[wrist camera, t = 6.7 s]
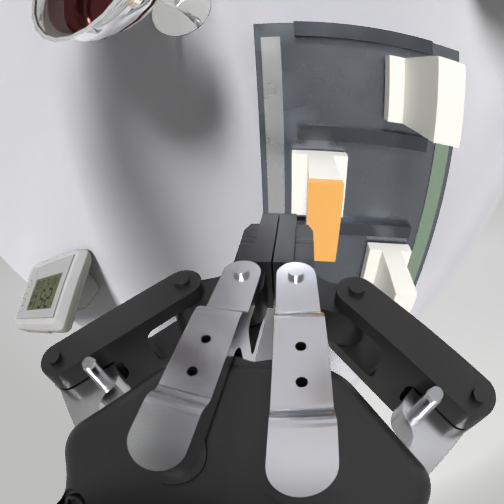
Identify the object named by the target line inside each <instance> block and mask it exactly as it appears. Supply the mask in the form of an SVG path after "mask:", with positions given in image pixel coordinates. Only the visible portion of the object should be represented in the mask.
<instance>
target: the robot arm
mask: <svg viewBox="0 0 504 504" xmlns="http://www.w3.org/2000/svg"><path fill="white" fill-rule="evenodd" d="M274 299H275V314H274V336H273V359H272V360H266V361H259V362H255V358H256V354H257V350H258V347H259V343H260V339H261V336H262V332H263V328H264V324H265V315H266V310H267V308H273V306H274ZM174 316H176V319H177V321H175V322H174V323H172V324H171V325H169V326H168V327H166V328H165V329H163V330H161V331H160V332H158V333H157V334H155V335H153V336H152V337H150V338H148V335H149V333H150V332H151V331H152V330H153V329H155V328H156V327H158V326H159V325H161V324H163V323H164V322H166V321H167V320H169V319H171V318H172V317H174ZM328 344H329V346H330V348H331V349H332V350H333V351H334V352H335V353H336V354H337V355H338V356H339V357H340V358H341V359H342V360H343V361H344V362H345V363H346V364H347V365H348V366H349V367H350V368H351V369H352V370H353V371H354V372H355V374H356V375H357V376H358V377H359V378H360V379H361V380H362V381H363V382H364V383H365V384H366V385H367V386H368V387H369V388H370V389H371V390H372V391H373V392H374V393H375V394H376V395H377V396H378V397H379V398H380V399H381V400H382V401H383V402H384V403H385V404H386V405H387V406H388V407H389V408H390V409H391V410H392V411H393V414H392V417H391V425H392V428H393V430H394V432H395V433H396V434H395V433H394V432H393V431H392V430H391V429H390V428H389V427H388V425H387V424H386V423H385V422H384V421H383V420H382V419H381V417H380V416H379V415H378V414H377V413H376V412H375V411H374V410H373V408H372V407H371V406H370V405H369V404H368V403H367V402H366V400H365V399H364V398H363V397H362V396H361V395H360V394H359V392H357V390H356V389H355V388H354V387H353V386H352V385H351V384H350V383H349V382H348V381H347V380H346V379H344V378H343V377H341V376H340V375H338V374H336V373H334V372H332V371H331V368H330V358H329V349H328ZM41 368H42V371H43V372H44V373H45V374H46V375H47V376H48V377H49V378H50V379H51V380H52V381H53V382H54V383H55V385H56V386H57V387H58V388H59V389H60V390H61V392H62V395H63V398H64V400H65V403H66V405H67V408H68V411H69V413H70V416H71V418H72V420H73V423H74V425H75V428H74V429H73V430H72V432H71V433H70V435H69V437H68V439H67V442H66V447H65V448H66V449H65V457H66V458H65V459H66V470H67V480H66V489H65V493H64V495H63V497H62V499H61V500H60V501H59V502H58V503H57V504H428V501H429V497H430V491H431V490H430V489H431V484H430V478H429V474H430V472H432V471H433V470H434V468H435V467H436V466H437V465H438V464H439V463H440V462H441V461H442V459H443V458H444V457H445V456H446V455H447V454H448V452H449V451H450V450H451V449H452V448H453V446H454V445H455V444H456V443H457V441H458V440H459V439H460V437H461V436H462V435H463V433H464V432H466V431H467V430H469V429H470V428H471V427H473V426H474V425H475V424H477V423H478V422H479V421H481V420H482V419H483V418H484V417H486V416H487V415H488V414H489V413H490V412H491V411H492V410H493V408H494V406H495V402H496V394H495V390H494V388H493V386H492V384H491V383H490V382H489V381H488V380H487V379H486V378H485V377H484V376H483V375H482V374H480V372H478V371H477V370H476V369H475V368H474V367H473V366H472V365H471V364H469V363H468V362H467V361H466V360H465V359H464V358H463V357H461V356H460V355H459V354H458V353H457V352H456V351H455V350H453V349H452V348H451V347H450V346H448V345H447V344H446V343H445V342H444V341H443V340H442V339H440V338H439V337H438V336H437V335H436V334H434V333H433V332H432V331H431V330H430V329H428V328H427V327H426V326H425V325H424V324H422V323H421V322H420V321H419V320H417V319H416V318H415V317H414V316H413V315H411V314H410V313H409V312H408V311H406V310H405V309H404V308H403V307H401V306H400V305H399V304H398V303H396V302H395V301H394V300H393V299H391V298H390V297H389V296H387V295H386V294H385V293H384V292H382V291H381V290H380V289H378V288H377V287H376V286H375V285H373V284H372V283H371V282H369V281H368V280H366V279H363V278H360V277H348V278H345V279H343V280H341V281H340V282H339V283H338V284H335V283H331V282H328V281H326V280H324V279H322V278H321V277H319V276H318V275H317V273H316V271H315V268H314V240H313V230H312V229H311V228H310V226H309V225H297V214H287V213H281V214H279V213H263V215H262V219H261V223H260V224H251V225H250V226H249V227H247V228H246V229H245V231H244V233H243V236H242V239H241V242H240V245H239V248H238V251H237V254H236V257H235V260H234V262H233V263H231V264H229V265H228V266H227V267H226V268H225V269H224V270H223V272H222V274H221V276H219V277H216V278H211V279H206V280H201V277H200V275H199V274H198V273H196V272H194V271H189V270H185V271H180V272H177V273H174V274H173V275H171V276H169V277H167V278H166V279H164V280H162V281H160V282H159V283H157V284H155V285H154V286H152V287H150V288H148V289H147V290H145V291H143V292H142V293H140V294H138V295H136V296H135V297H133V298H131V299H130V300H128V301H126V302H125V303H123V304H121V305H119V306H118V307H116V308H114V309H113V310H111V311H109V312H108V313H106V314H104V315H103V316H101V317H99V318H98V319H96V320H94V321H93V322H91V323H89V324H88V325H86V326H84V327H83V328H81V329H79V330H78V331H76V332H74V333H73V334H71V335H70V336H68V337H66V338H65V339H63V340H61V341H60V342H58V343H56V344H55V345H53V346H52V347H50V348H49V349H48V350H47V351H46V352H45V354H44V355H43V358H42V361H41ZM397 436H398V437H397Z"/></svg>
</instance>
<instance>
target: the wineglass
mask: <svg viewBox="0 0 504 504" xmlns="http://www.w3.org/2000/svg"><path fill="white" fill-rule="evenodd" d="M210 8H211V3H210V0H33V1H32V19H33V23H34V26H35V29H36V31H37V32H38V33H39V34H40V35H41V36H42V37H43V38H44V39H47V40H50V41H53V42H59V41H65V40H70V39H74V40H78V41H81V42H83V41H94V40H100V39H105V38H108V37H111V36H113V35H116V34H118V33H121V32H123V31H125V30H127V29H129V28H130V27H132V26H133V25H135V24H136V23H138V22H139V21H141V20H142V19H144V17H145V16H146V15H147V14H148V13H149V12H150V11H151V10H152V9H153V11H152V21H153V23H154V25H155V27H156V28H157V29H158V30H159V31H160V32H161V33H164V34H166V35H169V36H180V35H184V34H188V33H190V32H192V31H194V30H196V29H197V28H198V27H199V26H200V25H201V24H203V22H204V21H205V19H206V18H207V16H208V15H209V11H210Z"/></svg>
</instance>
